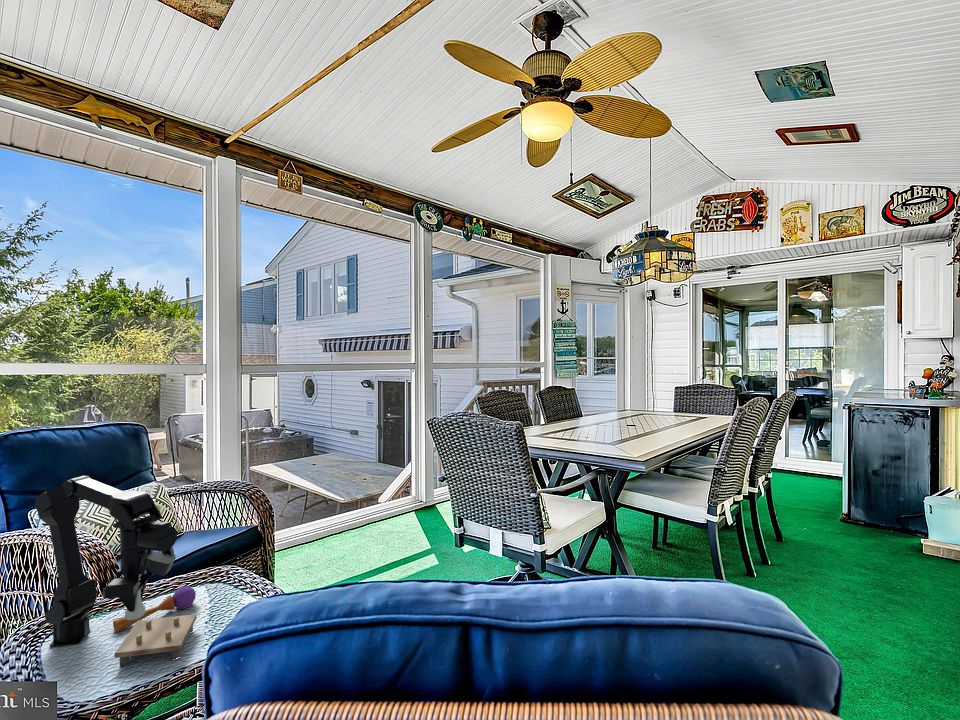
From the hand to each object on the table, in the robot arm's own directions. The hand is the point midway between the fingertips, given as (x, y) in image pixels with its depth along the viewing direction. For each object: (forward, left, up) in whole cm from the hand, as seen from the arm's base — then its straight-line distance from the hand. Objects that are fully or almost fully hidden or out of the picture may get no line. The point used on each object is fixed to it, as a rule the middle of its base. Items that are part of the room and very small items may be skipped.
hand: (135, 607), depth 125 cm
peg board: (+4, +2, -12) cm, 13 cm away
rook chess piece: (0, 0, -2) cm, 2 cm away
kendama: (-1, +18, -13) cm, 22 cm away
